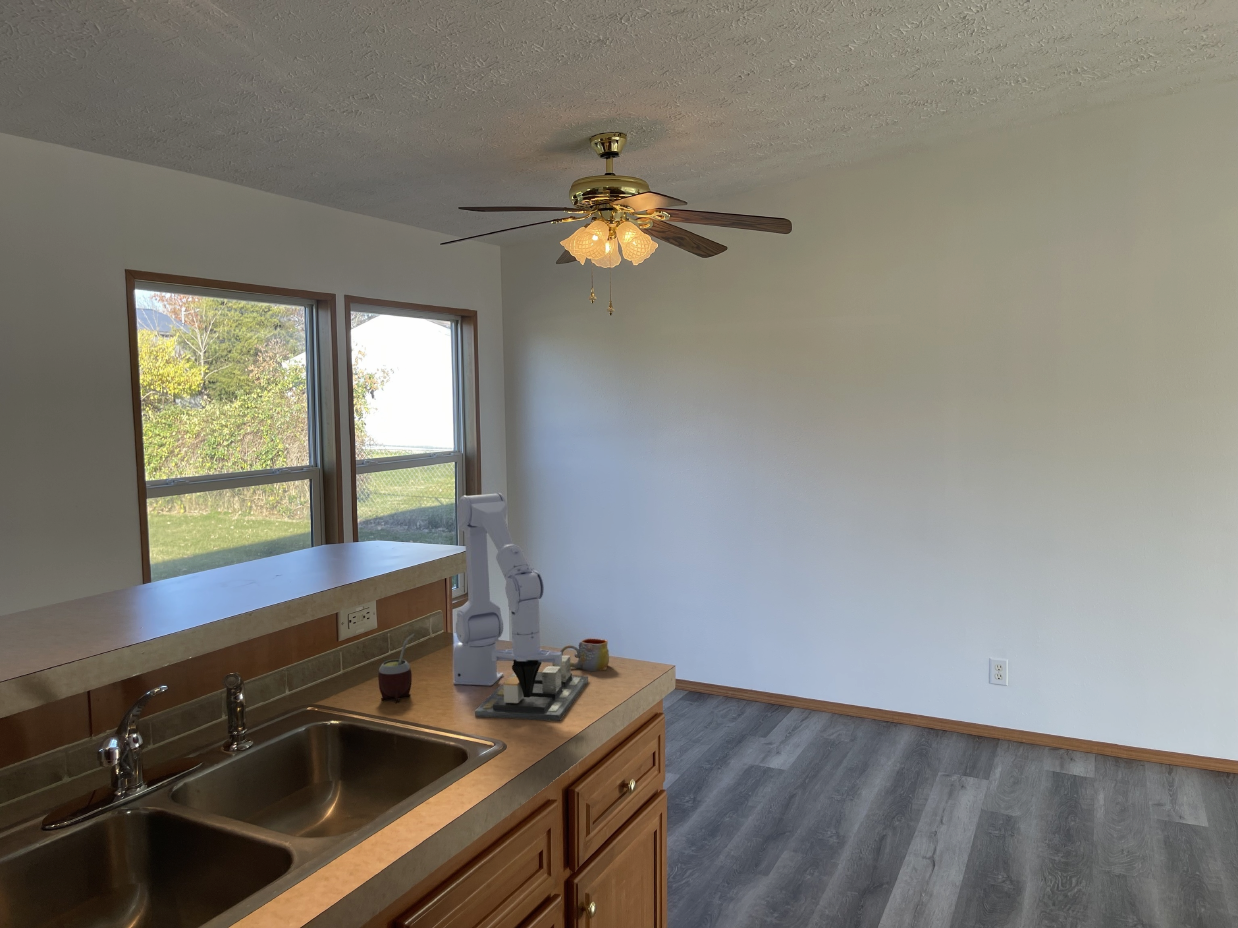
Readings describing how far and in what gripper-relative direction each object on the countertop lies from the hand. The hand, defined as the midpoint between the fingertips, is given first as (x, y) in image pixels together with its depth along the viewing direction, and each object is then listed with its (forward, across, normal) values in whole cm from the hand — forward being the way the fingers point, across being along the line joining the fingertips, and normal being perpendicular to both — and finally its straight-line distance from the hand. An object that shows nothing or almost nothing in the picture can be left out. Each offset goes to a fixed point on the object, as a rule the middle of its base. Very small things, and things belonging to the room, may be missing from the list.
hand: (528, 695), depth 171 cm
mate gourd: (+4, -31, +4) cm, 32 cm away
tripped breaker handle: (+1, -3, 0) cm, 3 cm away
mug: (+4, +5, +30) cm, 30 cm away
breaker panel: (+3, -1, +8) cm, 9 cm away
